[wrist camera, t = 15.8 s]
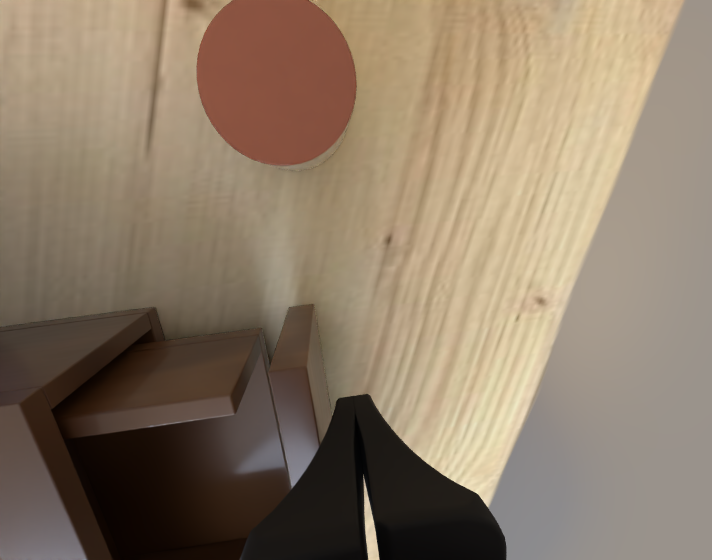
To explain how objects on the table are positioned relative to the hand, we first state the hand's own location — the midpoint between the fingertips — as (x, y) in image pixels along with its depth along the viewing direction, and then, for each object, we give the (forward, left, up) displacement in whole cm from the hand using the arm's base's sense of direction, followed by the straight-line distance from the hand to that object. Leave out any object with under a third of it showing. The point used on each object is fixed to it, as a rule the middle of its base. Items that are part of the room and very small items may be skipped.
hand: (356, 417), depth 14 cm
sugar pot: (-12, -1, -5) cm, 13 cm away
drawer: (+3, -7, -4) cm, 8 cm away
